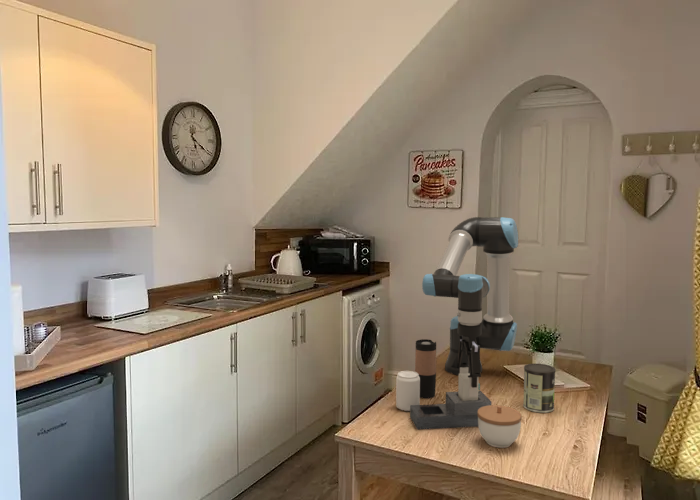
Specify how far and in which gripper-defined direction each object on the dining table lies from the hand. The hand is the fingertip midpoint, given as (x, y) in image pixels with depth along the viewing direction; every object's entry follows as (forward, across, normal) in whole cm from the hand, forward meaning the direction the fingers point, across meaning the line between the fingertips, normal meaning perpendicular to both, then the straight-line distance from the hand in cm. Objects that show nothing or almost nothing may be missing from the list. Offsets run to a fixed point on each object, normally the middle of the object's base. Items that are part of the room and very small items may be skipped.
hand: (468, 391), depth 179 cm
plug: (+6, 0, 0) cm, 6 cm away
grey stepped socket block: (+10, 0, -6) cm, 11 cm away
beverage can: (+10, -13, -17) cm, 24 cm away
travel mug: (+10, -24, -8) cm, 27 cm away
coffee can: (+10, -8, +28) cm, 31 cm away
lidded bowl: (+10, +17, +4) cm, 20 cm away
